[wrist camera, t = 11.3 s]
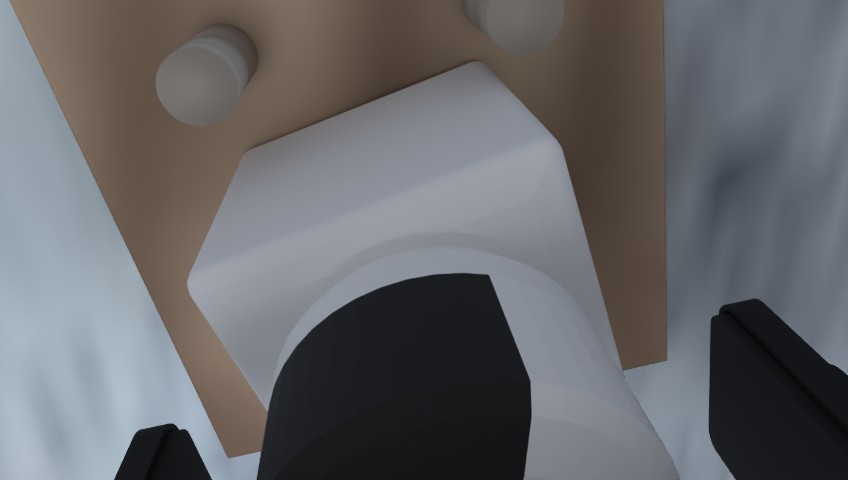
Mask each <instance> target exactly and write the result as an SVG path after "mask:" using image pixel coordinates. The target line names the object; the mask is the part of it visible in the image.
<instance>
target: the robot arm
mask: <svg viewBox="0 0 848 480" xmlns="http://www.w3.org/2000/svg"><path fill="white" fill-rule="evenodd" d="M709 434H710V438H711V441H712V444H713V446H714V448H715V450H716V451H717V453H718V454H719V456H720V457H721V459H722V460H723V462H724V463H725V465H726V466H727V467H728V469H729V470H730V472H731V473H732V475H733V476H734V478H735V479H736V480H848V375H847V374H845V373H844V372H843V371H842V370H840V369H839V368H838V367H836V366H834V365H831V364H829V363H828V362H827V361H826V360H824V359H823V358H822V357H821V356H820V355H819V354H818V353H817V352H816V351H815V350H814V349H813V348H811V347H810V346H809V345H808V344H807V343H806V342H805V341H804V340H803V339H802V338H801V337H800V336H799V335H797V334H796V333H795V332H794V331H793V330H792V329H791V328H790V327H789V326H788V325H787V324H786V323H785V322H783V321H782V320H781V319H780V318H779V317H778V316H777V315H776V314H775V313H774V312H773V311H772V310H770V309H769V308H768V307H767V306H766V305H765V304H764V303H763V302H762V301H760V300H759V299H750V300H746V301H741V302H736V303H732V304H727V305H723V306H722V307H721V308H720V310H719V315H716V316H713V317H712V319H711V336H710V389H709ZM114 480H212V479H211V477H210V475H209V473H208V471H207V469H206V467H205V465H204V463H203V461H202V459H201V456H200V454H199V452H198V450H197V448H196V446H195V444H194V442H193V440H192V438H191V436H190V434H189V433H188V431H187V430H185V429H182V430H179V429H178V428H177V426H176V425H174V424H165V425H160V426H156V427H151V428H146V429H142V430H139V431H137V432H136V434H135V435H134V437H133V439H132V441H131V444H130V446H129V448H128V450H127V452H126V455H125V457H124V459H123V461H122V463H121V466H120V468H119V470H118V472H117V474H116V477H115V479H114Z"/></svg>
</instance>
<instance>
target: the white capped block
mask: <svg viewBox="0 0 848 480" xmlns="http://www.w3.org/2000/svg"><path fill="white" fill-rule="evenodd" d="M187 286H188V290H189V293H190V296H191V297H192V299H193V300H194V302H195V303H196V305H197V306H198V308H199V309H200V311H201V312H202V314H203V315H204V317H205V318H206V320H207V321H208V323H209V324H210V326H211V327H212V329H213V330H214V332H215V333H216V335H217V336H218V338H219V339H220V341H221V342H222V344H223V345H224V347H225V348H226V350H227V351H228V353H229V354H230V356H231V357H232V359H233V360H234V362H235V364H236V365H237V367H238V368H239V370H240V371H241V373H242V374H243V376H244V377H245V379H246V380H247V382H248V383H249V385H250V386H251V388H252V389H253V391H254V392H255V394H256V395H257V397H258V398H259V400H260V401H261V403H262V404H263V406H264V407H265V409H266V410H267V412H268V415H267V421H266V427H265V433H264V439H263V445H262V451H261V457H260V463H259V469H258V475H257V480H680V479H679V475H678V473H677V470H676V468H675V466H674V463H673V461H672V458H671V456H670V455H669V453H668V451H667V450H666V448H665V446H664V445H663V443H662V441H661V440H660V438H659V436H658V434H657V433H656V431H655V429H654V428H653V426H652V424H651V423H650V421H649V419H648V418H647V416H646V414H645V413H644V411H643V409H642V408H641V406H640V404H639V403H638V401H637V399H636V398H635V396H634V394H633V393H632V391H631V389H630V388H629V386H628V384H627V383H626V381H625V377H624V373H623V370H622V366H621V362H620V359H619V355H618V351H617V348H616V344H615V341H614V337H613V333H612V330H611V326H610V322H609V319H608V315H607V311H606V308H605V304H604V300H603V297H602V293H601V289H600V286H599V282H598V278H597V275H596V271H595V267H594V264H593V260H592V256H591V253H590V249H589V245H588V242H587V238H586V234H585V231H584V227H583V223H582V220H581V216H580V212H579V209H578V205H577V201H576V198H575V194H574V190H573V187H572V183H571V179H570V176H569V172H568V168H567V165H566V161H565V157H564V154H563V150H562V147H561V146H560V144H559V143H558V141H557V140H556V138H555V137H554V136H553V135H552V134H551V133H550V132H549V131H548V130H547V129H546V128H545V127H544V126H543V125H542V124H541V122H540V121H539V120H538V119H537V118H536V117H535V116H534V115H533V114H532V113H531V112H530V111H529V110H528V109H527V108H526V107H525V105H524V104H523V103H522V102H521V101H520V100H519V99H518V98H517V97H516V96H515V95H514V94H513V93H512V92H511V91H510V89H509V88H508V87H507V86H506V85H505V84H504V83H503V82H502V81H501V80H500V79H499V78H498V77H497V76H496V75H495V74H494V72H493V71H492V70H491V69H490V68H489V67H488V66H487V65H486V64H484V63H482V62H480V61H475V62H470V63H468V64H465V65H463V66H460V67H458V68H455V69H453V70H450V71H448V72H445V73H443V74H440V75H437V76H435V77H432V78H430V79H427V80H425V81H422V82H420V83H417V84H415V85H412V86H410V87H407V88H405V89H402V90H400V91H397V92H395V93H392V94H390V95H387V96H385V97H382V98H379V99H377V100H374V101H372V102H369V103H367V104H364V105H362V106H359V107H357V108H354V109H352V110H349V111H347V112H344V113H342V114H339V115H337V116H334V117H332V118H329V119H327V120H324V121H321V122H319V123H316V124H314V125H311V126H309V127H306V128H304V129H301V130H299V131H296V132H294V133H291V134H289V135H286V136H284V137H281V138H279V139H276V140H274V141H271V142H269V143H266V144H263V145H261V146H258V147H256V148H253V149H251V150H249V151H247V152H246V153H245V154H244V155H243V157H242V159H241V161H240V164H239V166H238V168H237V170H236V172H235V175H234V177H233V179H232V181H231V183H230V186H229V188H228V190H227V192H226V194H225V197H224V199H223V201H222V203H221V205H220V208H219V210H218V212H217V214H216V217H215V219H214V221H213V223H212V225H211V228H210V230H209V232H208V234H207V236H206V239H205V241H204V243H203V245H202V247H201V250H200V252H199V254H198V256H197V258H196V261H195V263H194V265H193V267H192V270H191V272H190V274H189V277H188V280H187Z"/></svg>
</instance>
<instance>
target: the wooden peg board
mask: <svg viewBox="0 0 848 480" xmlns="http://www.w3.org/2000/svg"><path fill="white" fill-rule="evenodd" d="M10 3H11V5H12V7H13V9H14V11H15V13H16V15H17V17H18V19H19V21H20V24H21V26H22V28H23V30H24V32H25V34H26V36H27V38H28V40H29V42H30V44H31V47H32V49H33V51H34V53H35V55H36V57H37V59H38V61H39V63H40V65H41V67H42V70H43V72H44V74H45V76H46V78H47V80H48V82H49V84H50V86H51V88H52V91H53V93H54V95H55V97H56V99H57V101H58V103H59V105H60V107H61V109H62V111H63V114H64V116H65V118H66V120H67V122H68V124H69V126H70V128H71V130H72V132H73V134H74V137H75V139H76V141H77V143H78V145H79V147H80V149H81V151H82V153H83V155H84V158H85V160H86V162H87V164H88V166H89V168H90V170H91V172H92V174H93V176H94V178H95V181H96V183H97V185H98V187H99V189H100V191H101V193H102V195H103V197H104V199H105V201H106V204H107V206H108V208H109V210H110V212H111V214H112V216H113V218H114V220H115V222H116V225H117V227H118V229H119V231H120V233H121V235H122V237H123V239H124V241H125V243H126V245H127V248H128V250H129V252H130V254H131V256H132V258H133V260H134V262H135V264H136V266H137V268H138V271H139V273H140V275H141V277H142V279H143V281H144V283H145V285H146V287H147V289H148V292H149V294H150V296H151V298H152V300H153V302H154V304H155V306H156V308H157V310H158V312H159V315H160V317H161V319H162V321H163V323H164V325H165V327H166V329H167V331H168V333H169V335H170V338H171V340H172V342H173V344H174V346H175V348H176V350H177V352H178V354H179V356H180V359H181V361H182V363H183V365H184V367H185V369H186V371H187V373H188V375H189V377H190V379H191V382H192V384H193V386H194V388H195V390H196V392H197V394H198V396H199V398H200V400H201V402H202V405H203V407H204V409H205V411H206V413H207V415H208V417H209V419H210V421H211V423H212V426H213V428H214V430H215V432H216V434H217V436H218V438H219V440H220V442H221V444H222V446H223V449H224V451H225V453H226V455H227V457H228V458H232V457H237V456H241V455H246V454H250V453H255V452H259V451H262V445H263V439H264V433H265V427H266V421H267V415H268V412H267V410H266V409H265V407H264V406H263V404H262V403H261V401H260V400H259V398H258V397H257V395H256V394H255V392H254V391H253V389H252V388H251V386H250V385H249V383H248V382H247V380H246V379H245V377H244V376H243V374H242V373H241V371H240V370H239V368H238V367H237V365H236V364H235V362H234V360H233V359H232V357H231V356H230V354H229V353H228V351H227V350H226V348H225V347H224V345H223V344H222V342H221V341H220V339H219V338H218V336H217V335H216V333H215V332H214V330H213V329H212V327H211V326H210V324H209V323H208V321H207V320H206V318H205V317H204V315H203V314H202V312H201V311H200V309H199V308H198V306H197V305H196V303H195V302H194V300H193V299H192V297H191V296H190V293H189V290H188V286H187V280H188V277H189V274H190V272H191V270H192V267H193V265H194V263H195V261H196V258H197V256H198V254H199V252H200V250H201V247H202V245H203V243H204V241H205V239H206V236H207V234H208V232H209V230H210V228H211V225H212V223H213V221H214V219H215V217H216V214H217V212H218V210H219V208H220V205H221V203H222V201H223V199H224V197H225V194H226V192H227V190H228V188H229V186H230V183H231V181H232V179H233V177H234V175H235V172H236V170H237V168H238V166H239V164H240V161H241V159H242V157H243V155H244V154H245V153H246V152H247V151H249V150H251V149H253V148H256V147H258V146H261V145H263V144H266V143H269V142H271V141H274V140H276V139H279V138H281V137H284V136H286V135H289V134H291V133H294V132H296V131H299V130H301V129H304V128H306V127H309V126H311V125H314V124H316V123H319V122H321V121H324V120H327V119H329V118H332V117H334V116H337V115H339V114H342V113H344V112H347V111H349V110H352V109H354V108H357V107H359V106H362V105H364V104H367V103H369V102H372V101H374V100H377V99H379V98H382V97H385V96H387V95H390V94H392V93H395V92H397V91H400V90H402V89H405V88H407V87H410V86H412V85H415V84H417V83H420V82H422V81H425V80H427V79H430V78H432V77H435V76H437V75H440V74H443V73H445V72H448V71H450V70H453V69H455V68H458V67H460V66H463V65H465V64H468V63H470V62H475V61H480V62H482V63H484V64H486V65H487V66H488V67H489V68H490V69H491V70H492V71H493V72H494V74H495V75H496V76H497V77H498V78H499V79H500V80H501V81H502V82H503V83H504V84H505V85H506V86H507V87H508V88H509V89H510V91H511V92H512V93H513V94H514V95H515V96H516V97H517V98H518V99H519V100H520V101H521V102H522V103H523V104H524V105H525V107H526V108H527V109H528V110H529V111H530V112H531V113H532V114H533V115H534V116H535V117H536V118H537V119H538V120H539V121H540V122H541V124H542V125H543V126H544V127H545V128H546V129H547V130H548V131H549V132H550V133H551V134H552V135H553V136H554V137H555V138H556V140H557V141H558V143H559V144H560V146H561V147H562V150H563V154H564V157H565V161H566V165H567V168H568V172H569V176H570V179H571V183H572V187H573V190H574V194H575V198H576V201H577V205H578V209H579V212H580V216H581V220H582V223H583V227H584V231H585V234H586V238H587V242H588V245H589V249H590V253H591V256H592V260H593V264H594V267H595V271H596V275H597V278H598V282H599V286H600V289H601V293H602V297H603V300H604V304H605V308H606V311H607V315H608V319H609V322H610V326H611V330H612V333H613V337H614V341H615V344H616V348H617V351H618V355H619V359H620V362H621V366H622V370H627V369H631V368H636V367H640V366H645V365H649V364H654V363H658V362H663V361H667V300H666V205H665V110H664V15H663V0H10Z"/></svg>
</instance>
